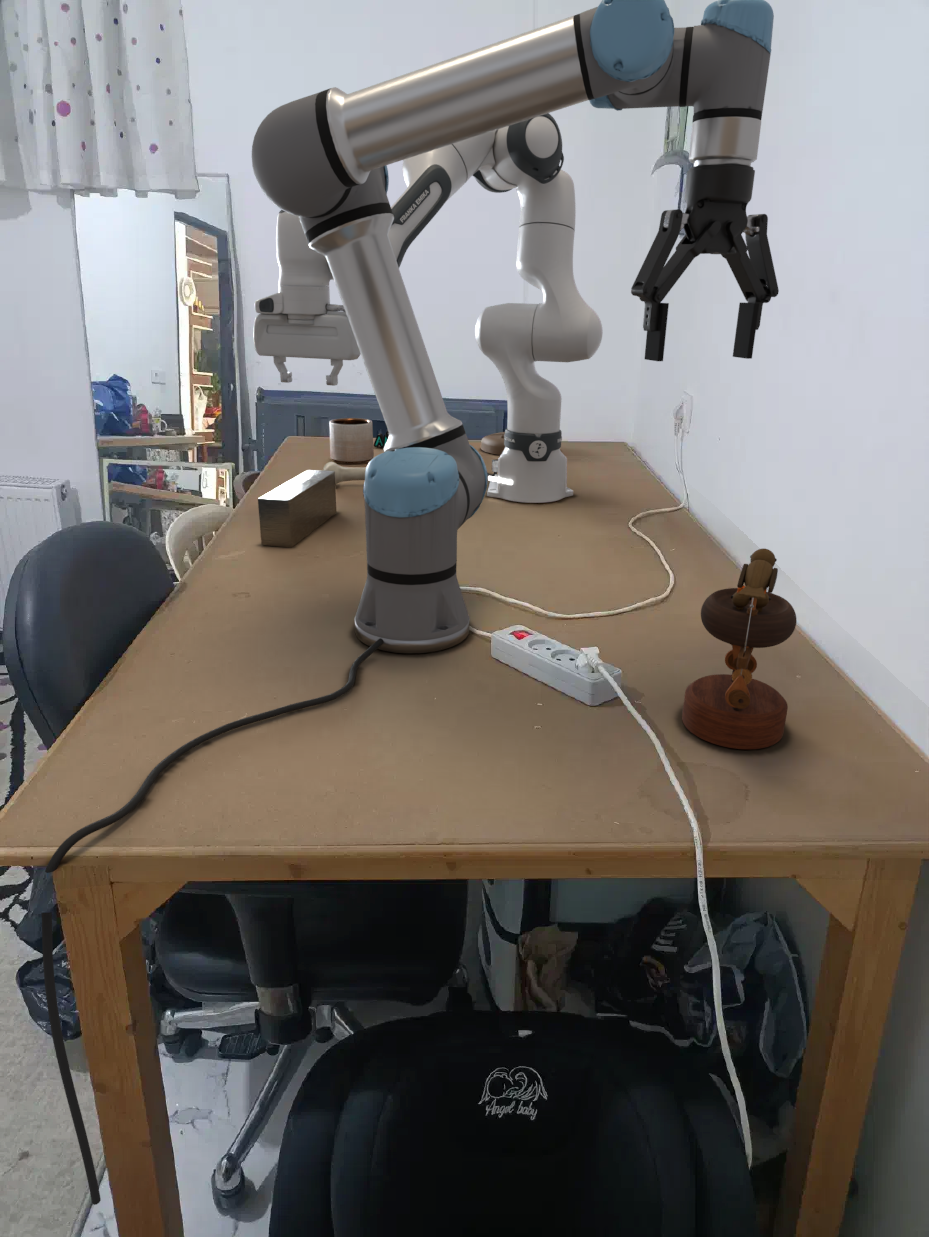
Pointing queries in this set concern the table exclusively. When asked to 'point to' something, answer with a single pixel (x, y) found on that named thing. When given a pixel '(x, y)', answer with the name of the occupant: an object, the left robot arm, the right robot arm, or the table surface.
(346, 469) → the dog toy
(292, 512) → the bar
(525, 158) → the right robot arm
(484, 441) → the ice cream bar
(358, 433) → the planter
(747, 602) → the music box
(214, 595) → the table surface
